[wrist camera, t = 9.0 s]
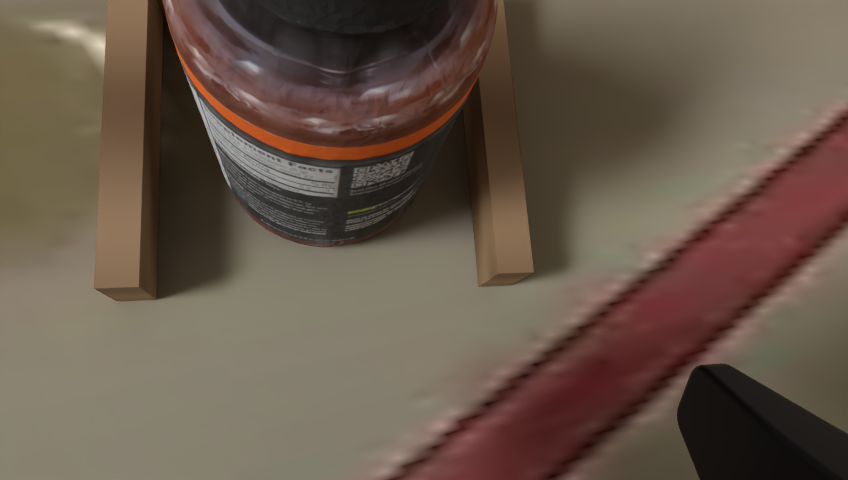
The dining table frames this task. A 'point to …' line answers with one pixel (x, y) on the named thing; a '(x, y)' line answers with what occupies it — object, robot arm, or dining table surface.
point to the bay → (140, 159)
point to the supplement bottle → (329, 102)
